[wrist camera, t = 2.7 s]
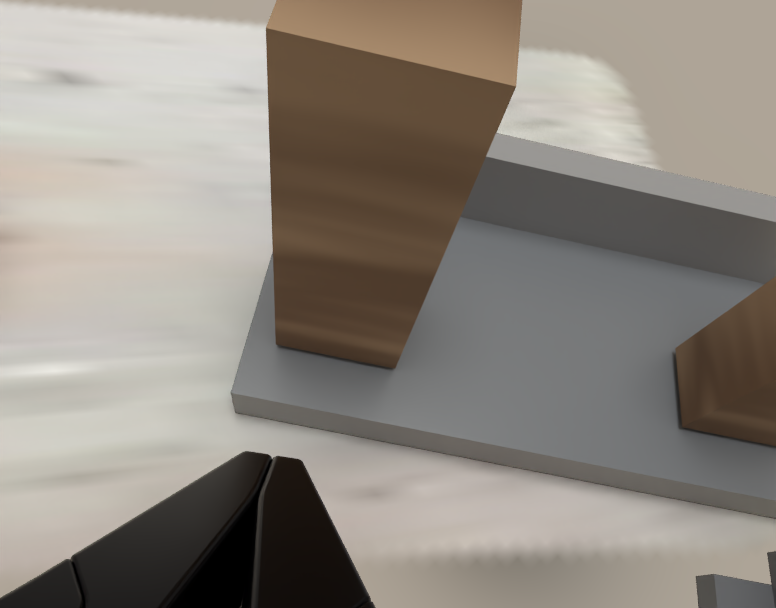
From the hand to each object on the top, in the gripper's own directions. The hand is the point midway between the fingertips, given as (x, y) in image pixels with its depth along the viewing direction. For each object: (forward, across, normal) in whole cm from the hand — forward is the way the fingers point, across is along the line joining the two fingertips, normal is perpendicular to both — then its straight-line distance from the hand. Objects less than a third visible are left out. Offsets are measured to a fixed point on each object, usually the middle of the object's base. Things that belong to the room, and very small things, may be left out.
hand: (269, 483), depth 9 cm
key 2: (+12, -1, +1) cm, 12 cm away
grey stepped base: (+15, -8, +1) cm, 17 cm away
